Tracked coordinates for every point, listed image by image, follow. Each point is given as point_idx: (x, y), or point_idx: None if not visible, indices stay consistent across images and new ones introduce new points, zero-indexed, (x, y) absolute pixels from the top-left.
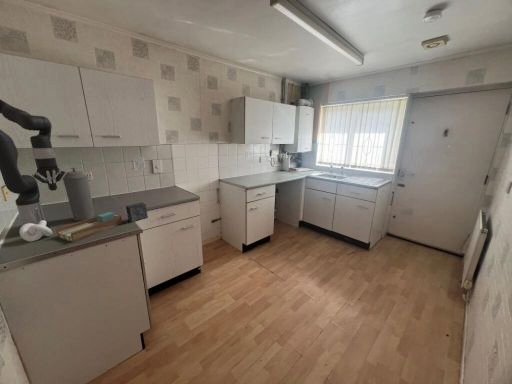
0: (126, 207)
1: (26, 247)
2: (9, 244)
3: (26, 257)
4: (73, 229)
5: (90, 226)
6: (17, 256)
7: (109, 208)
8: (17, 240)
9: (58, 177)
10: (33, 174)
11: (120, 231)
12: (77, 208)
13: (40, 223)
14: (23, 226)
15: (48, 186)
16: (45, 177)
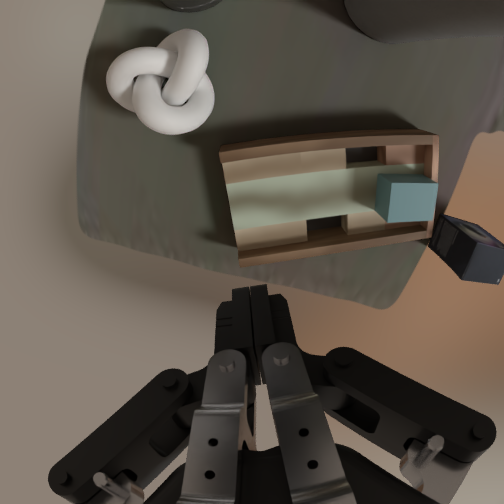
0: (471, 247)
1: (124, 153)
2: (94, 70)
3: (118, 243)
4: (274, 175)
5: (314, 251)
6: (101, 213)
7: None
8: (118, 45)
9: (358, 429)
10: (65, 498)
11: (362, 287)
12: (385, 14)
13: (176, 84)
14: (115, 75)
15: (216, 334)
16: (206, 442)
